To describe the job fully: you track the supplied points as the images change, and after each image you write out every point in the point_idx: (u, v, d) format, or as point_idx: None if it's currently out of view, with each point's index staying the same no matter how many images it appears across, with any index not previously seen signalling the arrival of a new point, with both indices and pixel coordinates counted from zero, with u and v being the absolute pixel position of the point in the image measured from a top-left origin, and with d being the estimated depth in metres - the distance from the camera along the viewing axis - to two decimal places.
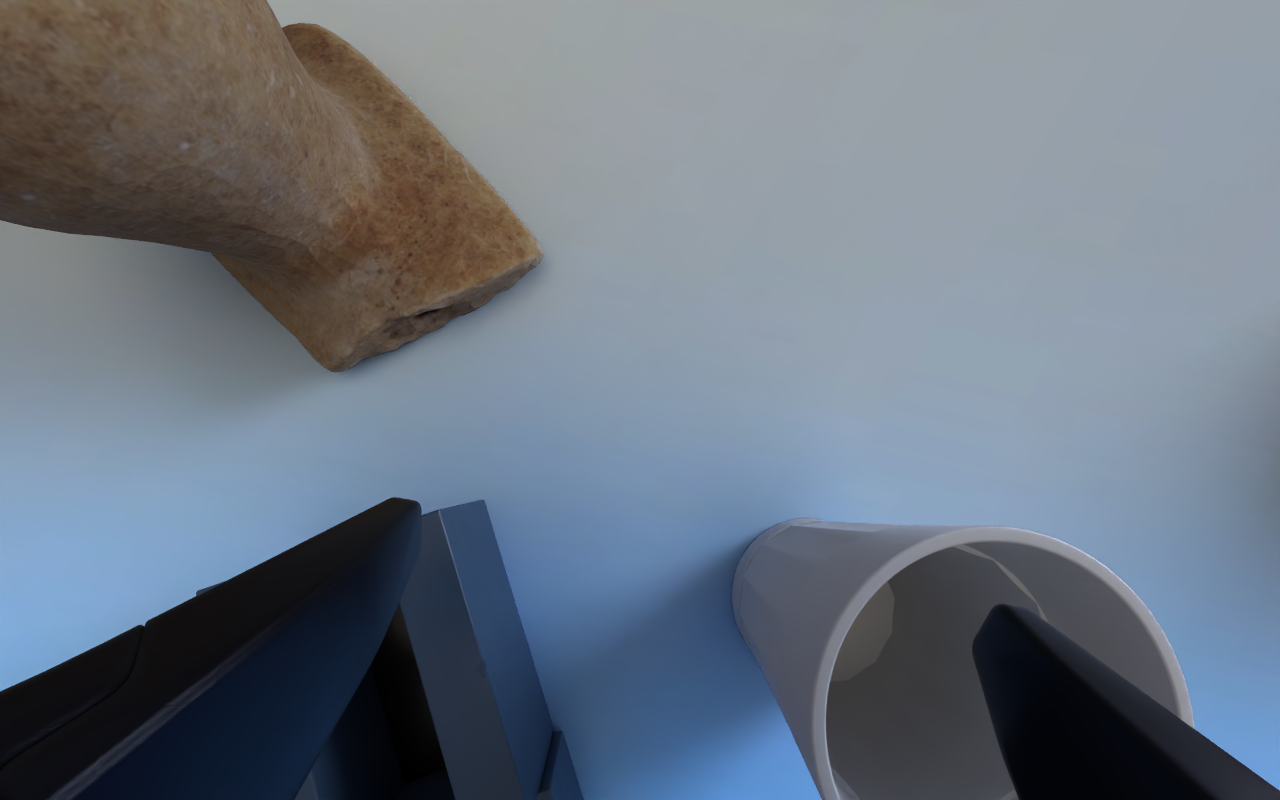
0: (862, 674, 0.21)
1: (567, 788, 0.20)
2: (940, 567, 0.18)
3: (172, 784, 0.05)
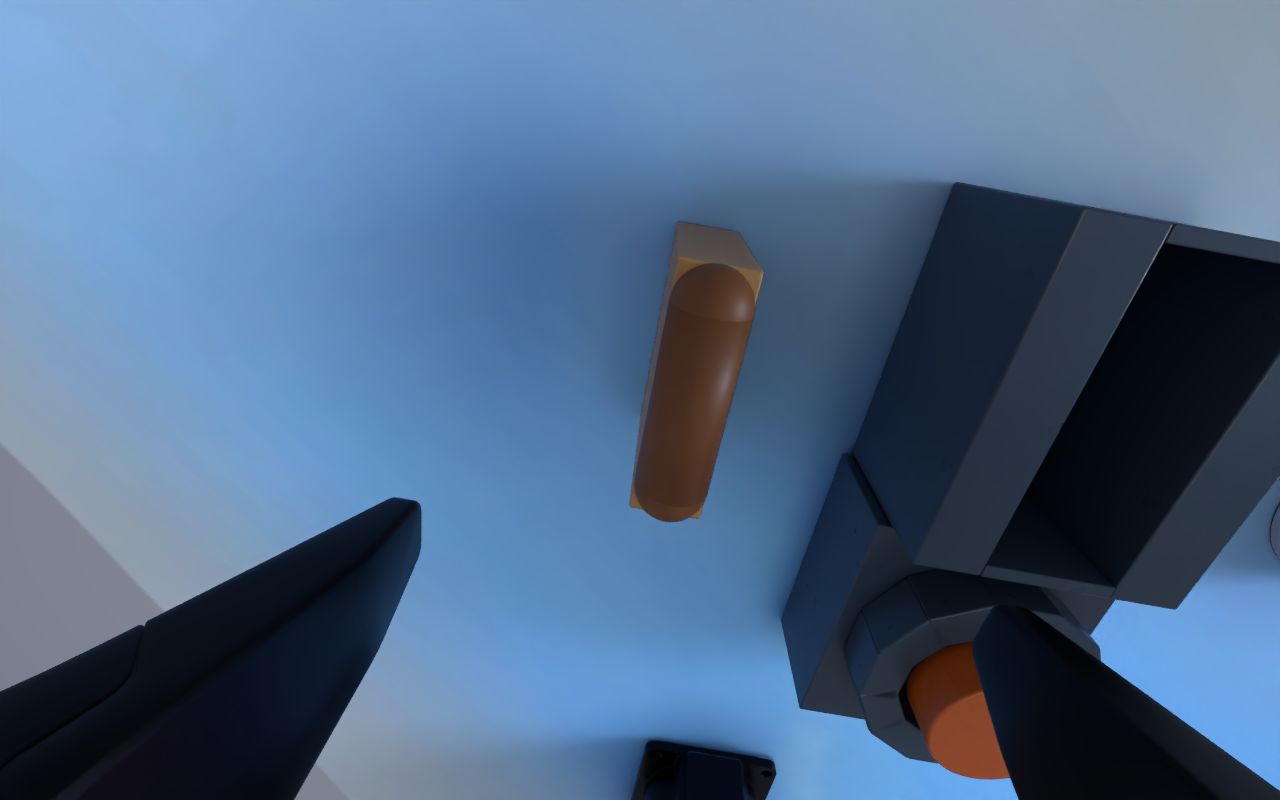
0: None
1: None
2: None
3: (172, 784, 0.05)
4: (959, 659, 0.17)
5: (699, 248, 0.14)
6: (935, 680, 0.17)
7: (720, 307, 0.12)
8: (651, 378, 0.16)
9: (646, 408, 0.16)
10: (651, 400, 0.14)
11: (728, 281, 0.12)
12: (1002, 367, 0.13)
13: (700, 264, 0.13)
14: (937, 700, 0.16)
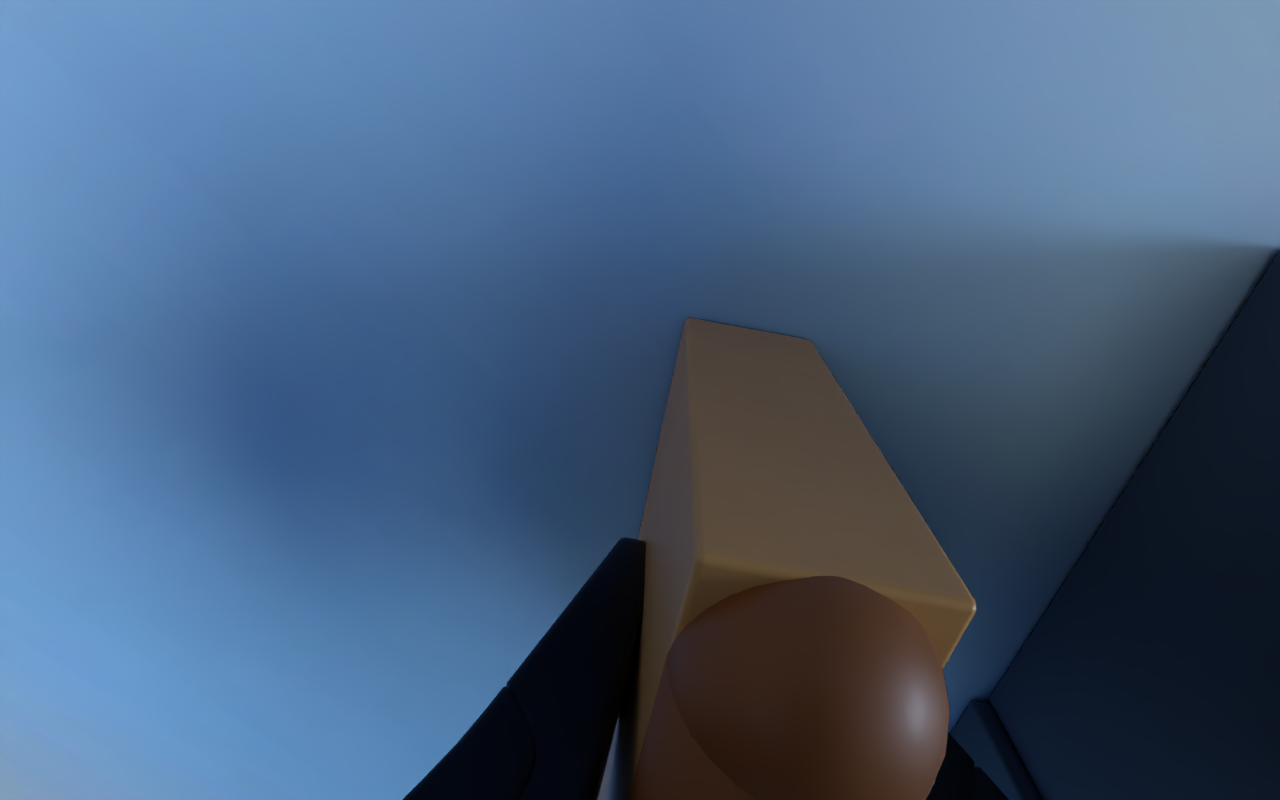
0: None
1: None
2: None
3: None
4: None
5: (751, 459, 0.05)
6: None
7: (855, 788, 0.03)
8: (626, 707, 0.07)
9: (612, 793, 0.07)
10: None
11: (881, 683, 0.03)
12: None
13: (772, 584, 0.04)
14: None
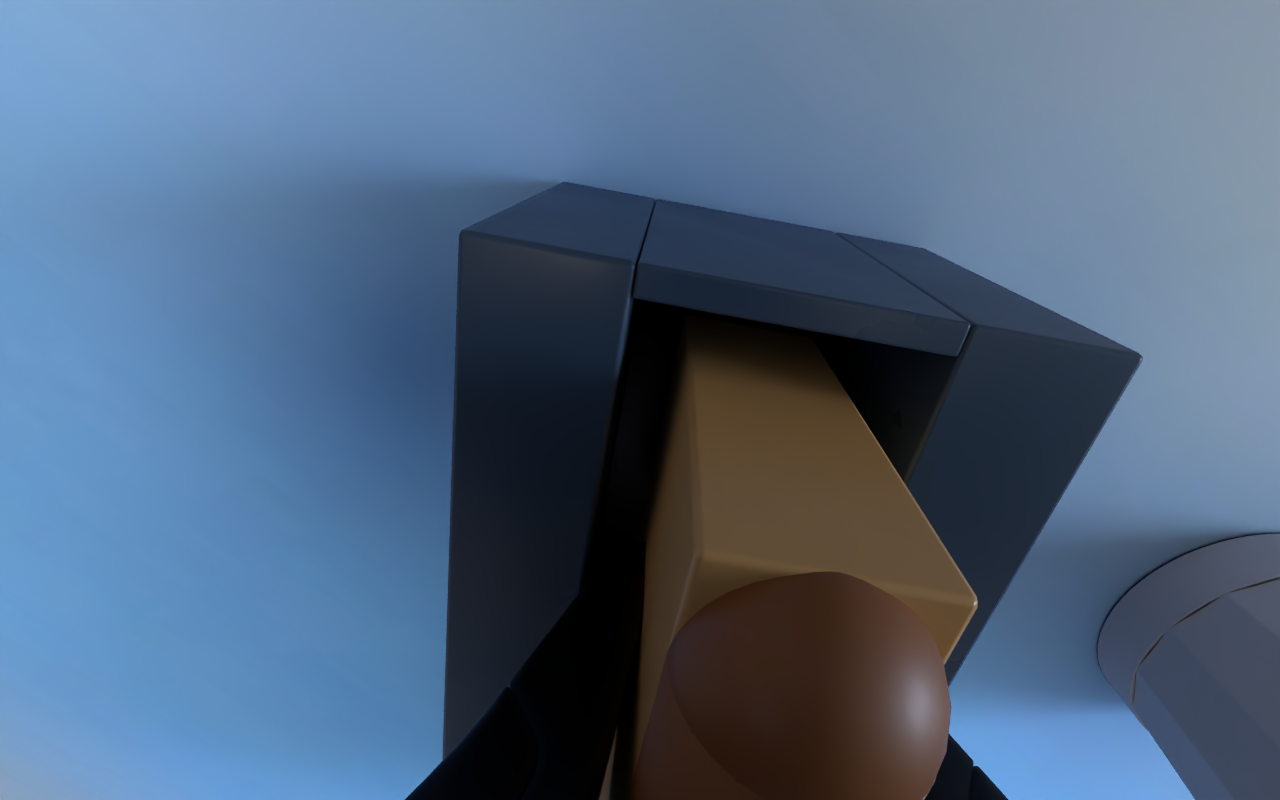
0: None
1: None
2: None
3: None
4: None
5: (751, 456, 0.05)
6: None
7: (856, 784, 0.03)
8: (626, 705, 0.07)
9: (613, 792, 0.07)
10: None
11: (883, 680, 0.03)
12: (451, 502, 0.08)
13: (772, 580, 0.04)
14: None
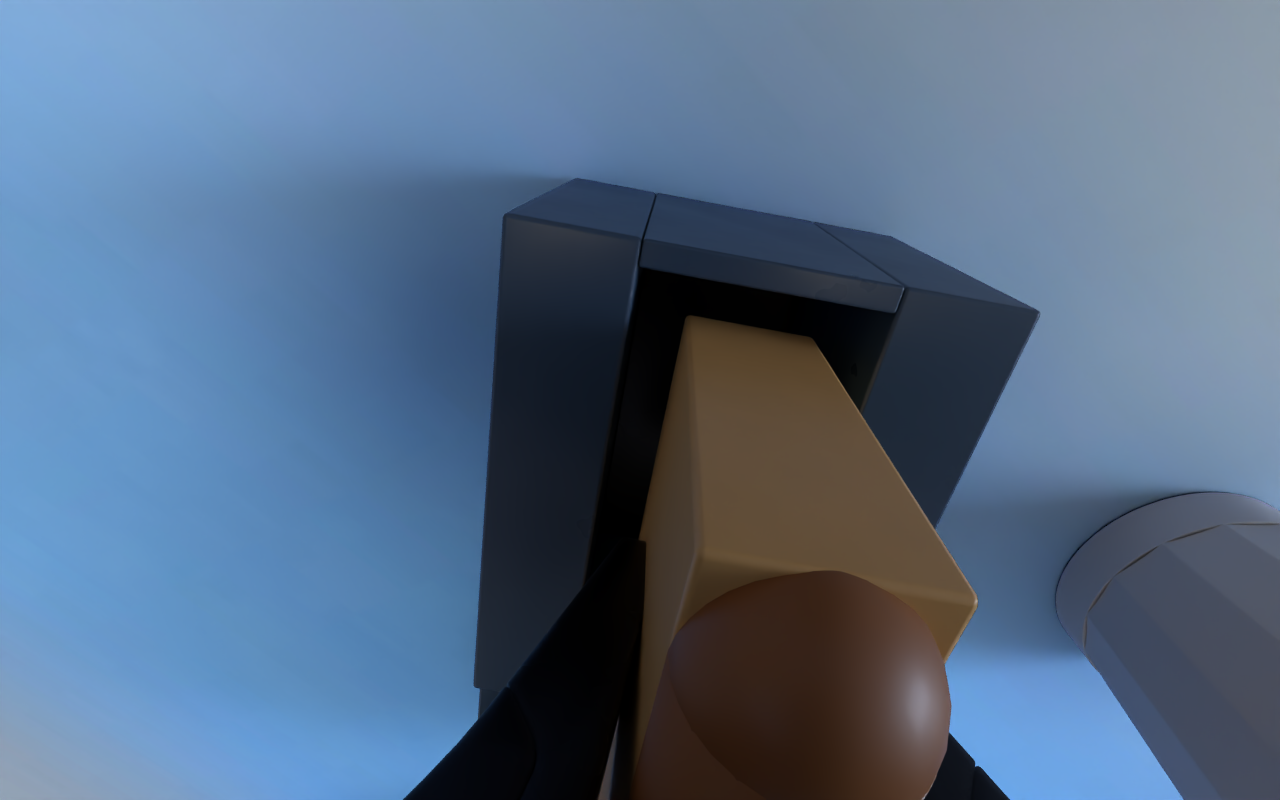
0: None
1: None
2: None
3: None
4: None
5: (752, 455, 0.05)
6: None
7: (856, 782, 0.03)
8: (627, 704, 0.07)
9: (613, 791, 0.07)
10: None
11: (884, 678, 0.03)
12: (489, 439, 0.09)
13: (773, 578, 0.04)
14: None
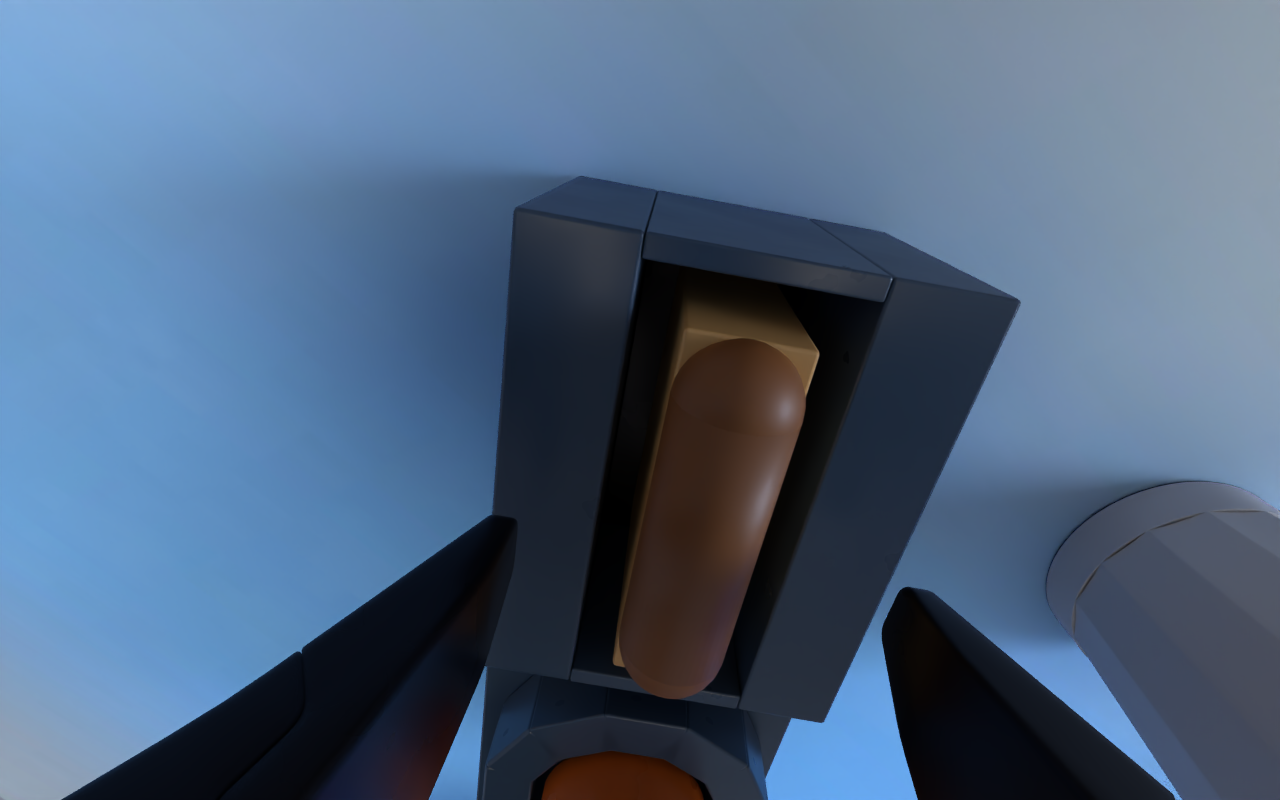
0: None
1: None
2: None
3: None
4: (573, 777, 0.13)
5: (716, 306, 0.09)
6: None
7: (753, 415, 0.08)
8: (645, 482, 0.11)
9: (637, 528, 0.11)
10: (643, 534, 0.09)
11: (766, 371, 0.08)
12: (499, 424, 0.10)
13: (720, 340, 0.08)
14: None
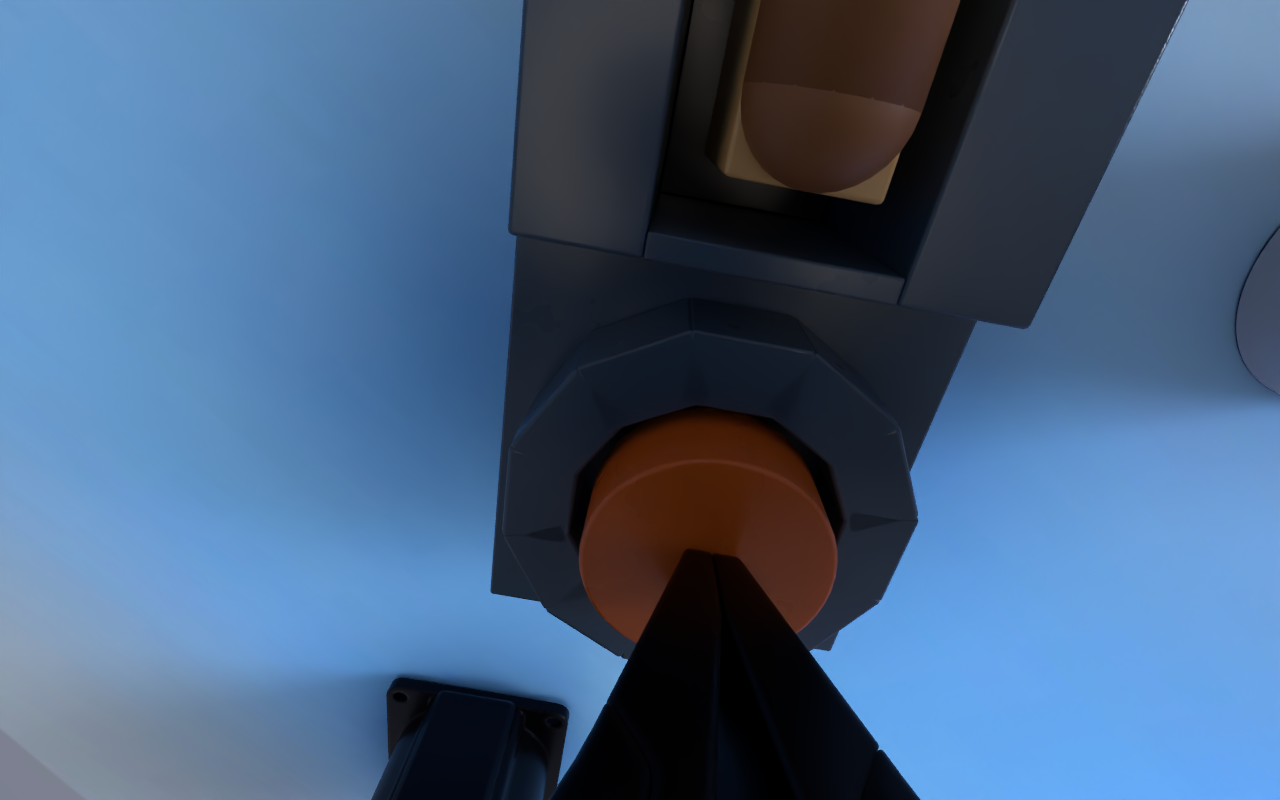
0: None
1: None
2: None
3: None
4: (642, 438, 0.09)
5: None
6: (601, 479, 0.09)
7: None
8: None
9: None
10: None
11: None
12: None
13: None
14: (592, 506, 0.09)
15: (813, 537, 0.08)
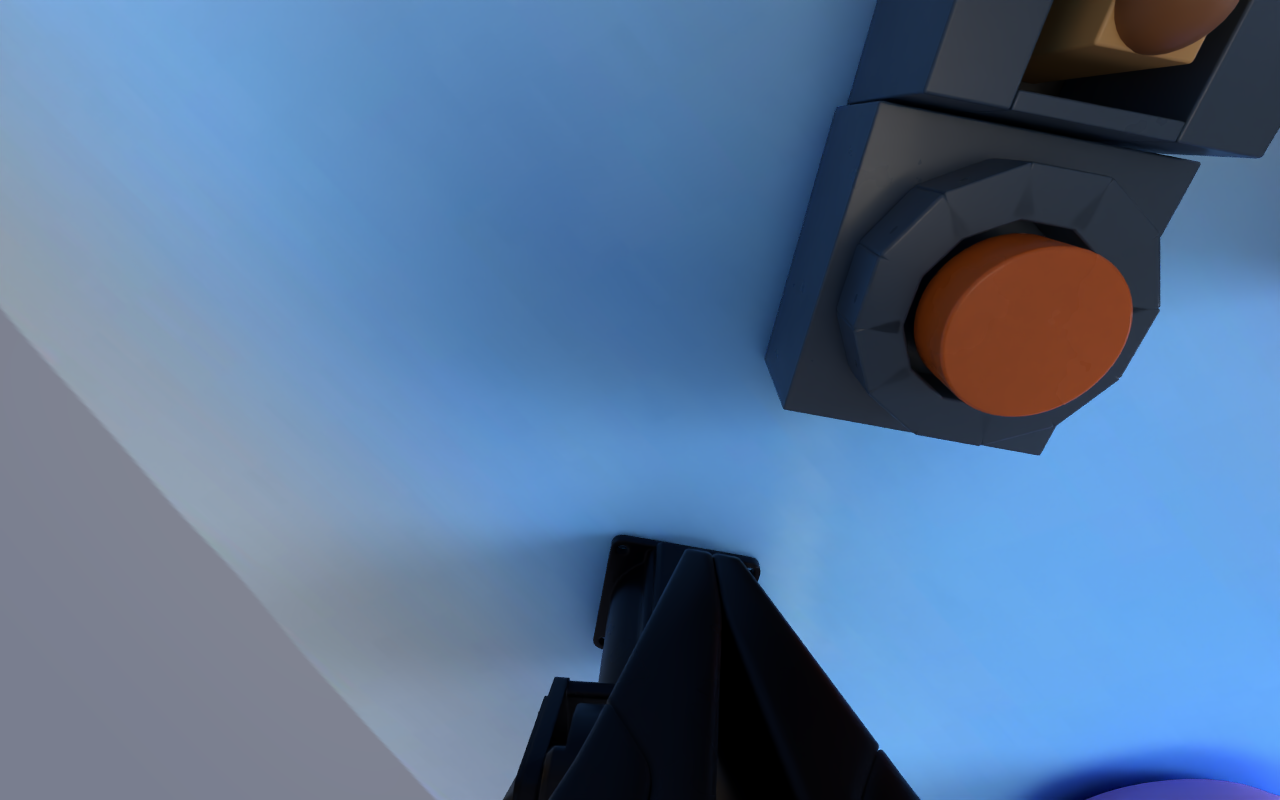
0: None
1: None
2: None
3: None
4: (981, 250, 0.13)
5: None
6: (950, 280, 0.13)
7: None
8: None
9: None
10: None
11: None
12: None
13: None
14: (954, 293, 0.13)
15: (1119, 306, 0.12)
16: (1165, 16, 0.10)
